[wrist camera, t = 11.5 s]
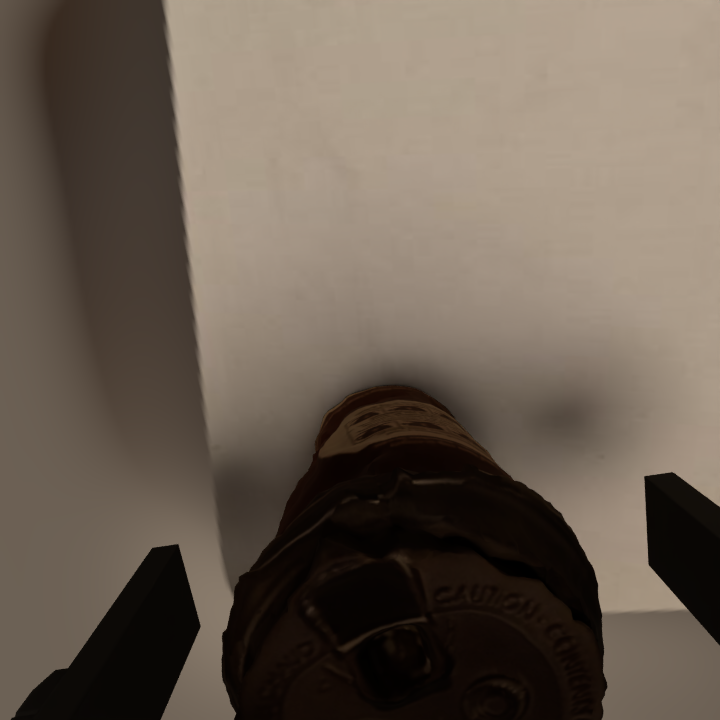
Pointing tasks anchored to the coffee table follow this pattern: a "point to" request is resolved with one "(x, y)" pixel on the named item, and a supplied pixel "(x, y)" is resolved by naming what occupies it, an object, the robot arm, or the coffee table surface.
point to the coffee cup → (414, 584)
